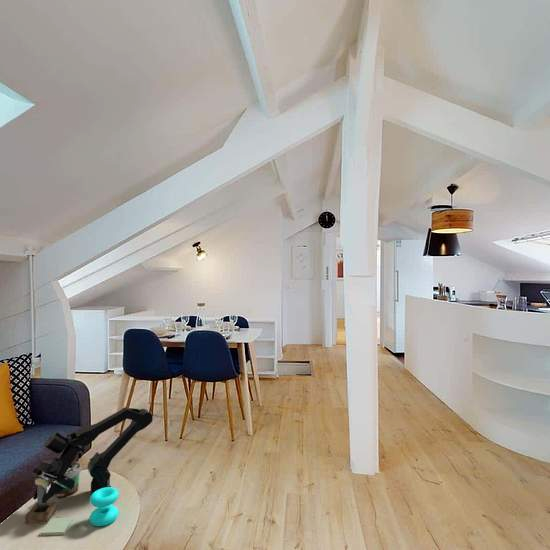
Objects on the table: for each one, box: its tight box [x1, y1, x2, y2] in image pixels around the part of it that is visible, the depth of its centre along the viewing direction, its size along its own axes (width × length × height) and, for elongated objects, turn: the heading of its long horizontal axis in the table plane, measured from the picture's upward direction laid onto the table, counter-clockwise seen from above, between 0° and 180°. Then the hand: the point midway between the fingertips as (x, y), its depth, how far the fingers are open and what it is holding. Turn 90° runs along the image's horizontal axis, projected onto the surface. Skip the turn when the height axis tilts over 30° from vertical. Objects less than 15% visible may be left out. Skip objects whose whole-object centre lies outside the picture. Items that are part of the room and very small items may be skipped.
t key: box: [34, 478, 50, 512], centre depth 146 cm, size 6×3×14 cm, turn 64°
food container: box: [56, 461, 82, 499], centre depth 162 cm, size 12×6×10 cm, turn 168°
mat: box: [39, 517, 75, 537], centre depth 140 cm, size 8×8×1 cm
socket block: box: [24, 501, 59, 525], centre depth 146 cm, size 8×8×3 cm
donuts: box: [89, 486, 120, 527], centre depth 145 cm, size 10×10×10 cm
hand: (38, 501), depth 145 cm, fingers closed on t key, 5 cm apart
